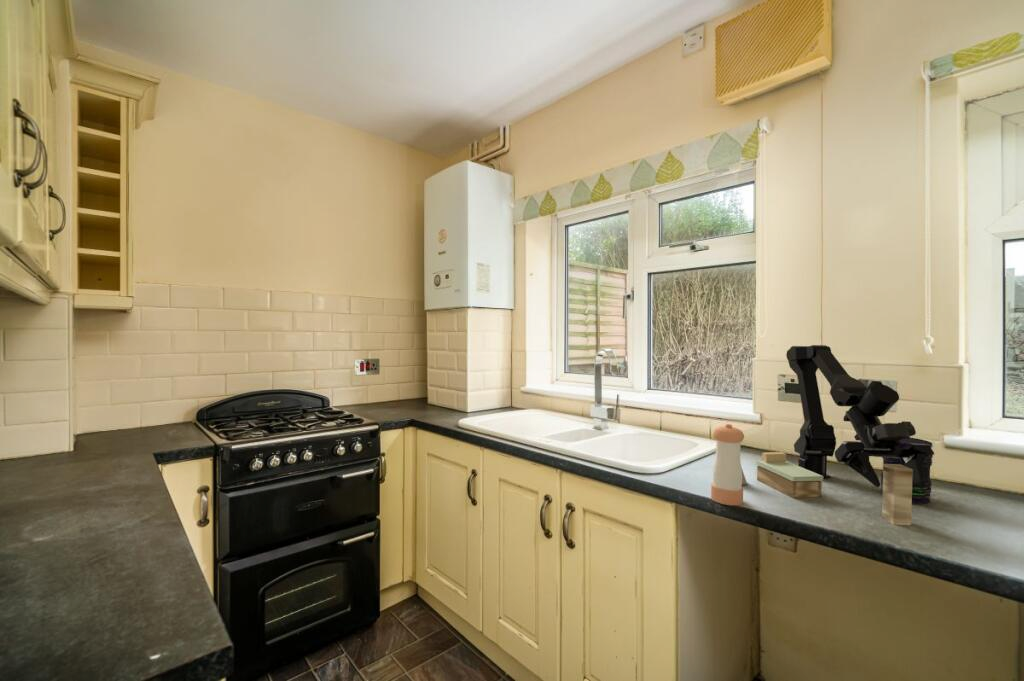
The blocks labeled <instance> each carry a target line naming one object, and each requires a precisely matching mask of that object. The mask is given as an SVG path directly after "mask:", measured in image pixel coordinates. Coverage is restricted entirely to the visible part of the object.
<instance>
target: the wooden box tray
mask: <svg viewBox="0 0 1024 681" xmlns="http://www.w3.org/2000/svg"><path fill="white" fill-rule="evenodd" d="M756 466H757V468H756V480H757V481H758V482H759V483H760V482H761V483H763V484H764V485H766V486H768V487H770V488H772V489H774V490H776V491H777V492H780V493H782V494H783V495H785V496H788V497H790V498H792V499H797V498H798V499H801V498H803V499H805V498H822V486H823V484H822V482H823V481H794V482H793V481H791V480H789V479H786V478H784V477H782V476H780V475H778V474H776V473H773V472H771V471H769V470H767V469H765V468H762V467H760V466H758V465H756Z"/></svg>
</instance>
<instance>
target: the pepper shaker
mask: <svg viewBox="0 0 1024 681" xmlns="http://www.w3.org/2000/svg"><path fill="white" fill-rule="evenodd" d="M712 436H713V437H714V439H715V440H716V444H715V458H714V463H713V469H712V483H711V484H710V486H711V487H710V488H711V489H710V498H711V500H712V501H714V502H716V503H718V504H721V505H726V506H741V505H743V503H744V488H743V485H742V470H743V468H742V469H741V467H742V464H741V462H742V461H741V443H742V442H743V440H744V439H745V434H744V432H743V431H742V430H741V429H739V428H737V427H734V426H733V425H732V424H730V423H726V424H725V425H724V426H723V425H722V426H719V427H716V428H715V429H714V430H713V432H712Z"/></svg>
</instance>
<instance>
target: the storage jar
mask: <svg viewBox="0 0 1024 681" xmlns="http://www.w3.org/2000/svg"><path fill="white" fill-rule="evenodd" d="M900 442H901V443H900V444H899V445H896V446H895V449H903V448H904V447H906V446H907V445H908V444H909V443H916V444H927V445H929V446H930V447H931V448H933V443H932V442H931V441H929V440H925V439H921V438H915V437H910V438H908V439H907V438H905V439H901V440H900ZM933 456H934V455H932V456H931V457H930V458H929V459H928V460H926V461H925V462H924V467H923V470H924V479H925V488H924V489H920V488H919V487H918V486H917V484H916V483H915V482H914V481H913V479H912V505H918V504H919V506H921V505H920V504H926V505H929V504H930V503H931V499H930V498H931V494H932V480H931V466H933ZM881 458H882V465H883V464H900V465H904V464H903V463H902V462H900V460H899V458H895V457H881ZM880 478H881V479H880V484H881V485H880V487H881V490H880V494H881V495H882V496H883V471H882V472H881V473H880ZM928 503H929V504H928Z"/></svg>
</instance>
